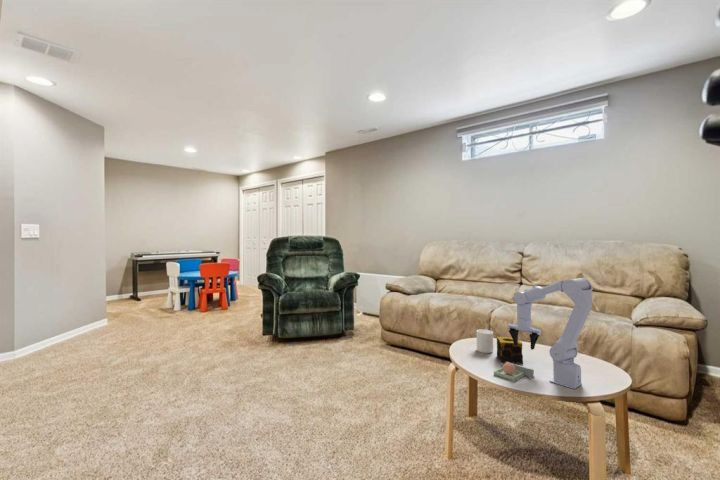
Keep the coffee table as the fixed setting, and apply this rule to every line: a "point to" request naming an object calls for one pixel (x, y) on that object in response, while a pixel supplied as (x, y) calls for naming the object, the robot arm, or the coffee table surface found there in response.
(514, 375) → the tray
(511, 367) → the ball
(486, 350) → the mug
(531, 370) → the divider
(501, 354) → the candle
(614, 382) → the coffee table surface
